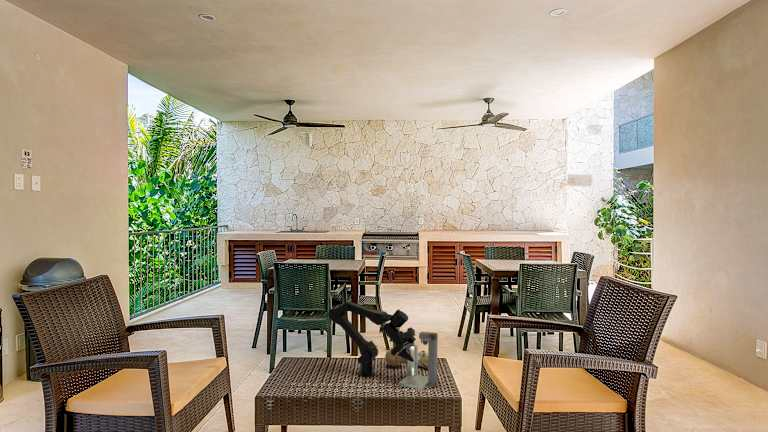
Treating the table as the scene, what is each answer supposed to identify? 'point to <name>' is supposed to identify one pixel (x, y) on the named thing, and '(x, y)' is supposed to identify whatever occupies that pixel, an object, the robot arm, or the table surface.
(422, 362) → the ceramic sculpture
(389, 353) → the natural sponge
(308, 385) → the table surface
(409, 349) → the cocktail shaker
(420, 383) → the press
